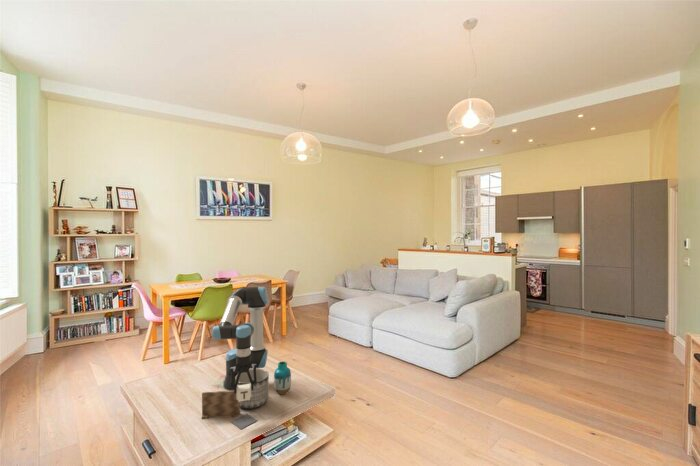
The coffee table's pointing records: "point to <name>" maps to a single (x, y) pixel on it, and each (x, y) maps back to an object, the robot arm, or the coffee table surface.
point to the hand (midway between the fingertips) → (243, 397)
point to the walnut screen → (220, 404)
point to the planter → (255, 388)
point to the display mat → (243, 421)
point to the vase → (282, 378)
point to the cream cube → (243, 392)
